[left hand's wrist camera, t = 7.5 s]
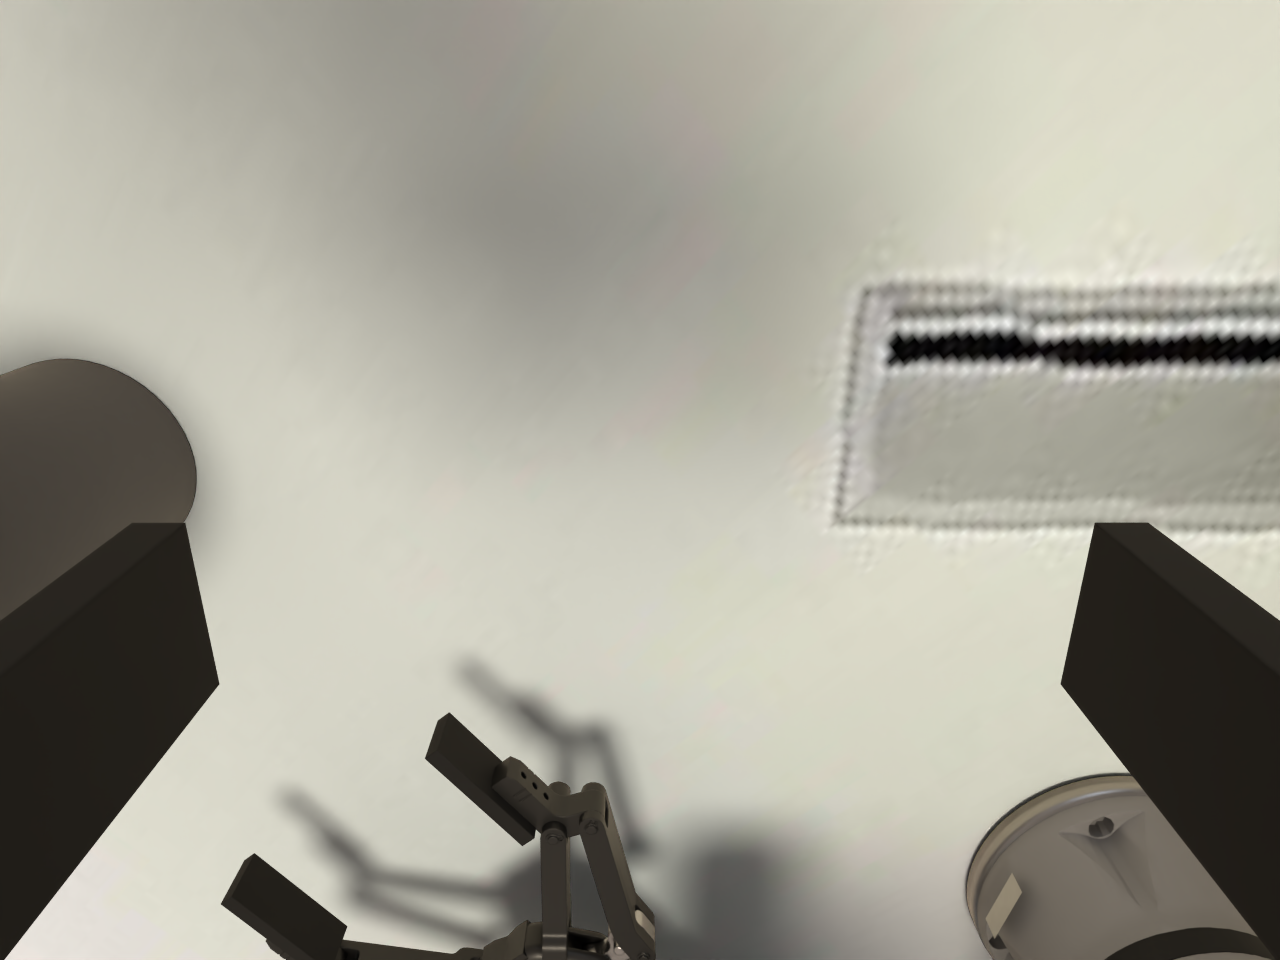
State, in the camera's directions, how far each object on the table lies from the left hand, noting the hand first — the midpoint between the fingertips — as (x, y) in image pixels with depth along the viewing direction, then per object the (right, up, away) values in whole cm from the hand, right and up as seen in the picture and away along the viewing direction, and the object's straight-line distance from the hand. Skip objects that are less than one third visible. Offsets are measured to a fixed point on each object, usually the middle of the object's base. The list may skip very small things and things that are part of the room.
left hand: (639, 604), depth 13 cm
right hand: (-15, -14, +28) cm, 35 cm away
